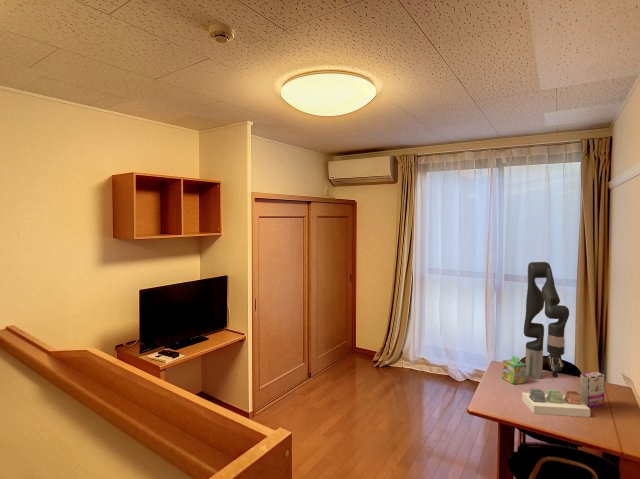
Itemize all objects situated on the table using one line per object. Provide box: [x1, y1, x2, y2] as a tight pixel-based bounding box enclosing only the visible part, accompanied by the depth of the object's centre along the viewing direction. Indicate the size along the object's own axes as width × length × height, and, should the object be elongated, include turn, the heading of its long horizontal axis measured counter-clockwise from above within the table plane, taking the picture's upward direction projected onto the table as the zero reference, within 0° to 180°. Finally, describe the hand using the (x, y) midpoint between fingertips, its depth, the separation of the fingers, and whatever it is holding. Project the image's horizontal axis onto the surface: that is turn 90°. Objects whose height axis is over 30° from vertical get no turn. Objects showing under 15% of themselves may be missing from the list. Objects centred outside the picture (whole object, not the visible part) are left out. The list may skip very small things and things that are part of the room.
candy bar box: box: [579, 371, 606, 409], centre depth 190 cm, size 11×5×16 cm, turn 105°
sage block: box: [546, 389, 564, 404], centre depth 187 cm, size 5×5×6 cm
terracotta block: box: [564, 390, 581, 405], centre depth 186 cm, size 5×5×6 cm
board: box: [521, 392, 591, 418], centre depth 187 cm, size 14×26×4 cm, turn 83°
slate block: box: [529, 388, 546, 403], centre depth 188 cm, size 5×5×6 cm
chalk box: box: [501, 355, 527, 385], centre depth 218 cm, size 9×9×15 cm
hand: (554, 377), depth 186 cm, fingers closed
